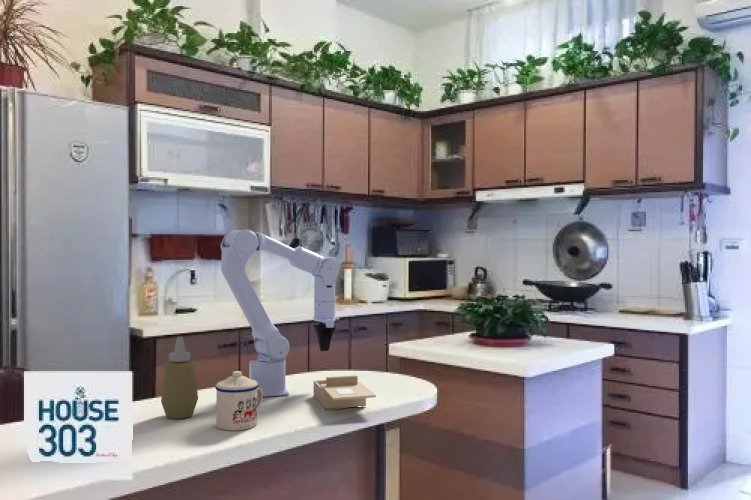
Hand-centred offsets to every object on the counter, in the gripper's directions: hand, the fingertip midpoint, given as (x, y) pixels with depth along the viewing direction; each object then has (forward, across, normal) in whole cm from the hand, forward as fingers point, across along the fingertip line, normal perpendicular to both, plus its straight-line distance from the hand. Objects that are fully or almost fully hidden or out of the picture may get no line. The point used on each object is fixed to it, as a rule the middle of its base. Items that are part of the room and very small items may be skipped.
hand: (324, 350), depth 174 cm
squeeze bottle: (+10, -20, +38) cm, 44 cm away
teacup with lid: (+10, -30, +25) cm, 40 cm away
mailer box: (+10, -17, 0) cm, 20 cm away
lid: (+6, -25, 0) cm, 26 cm away
